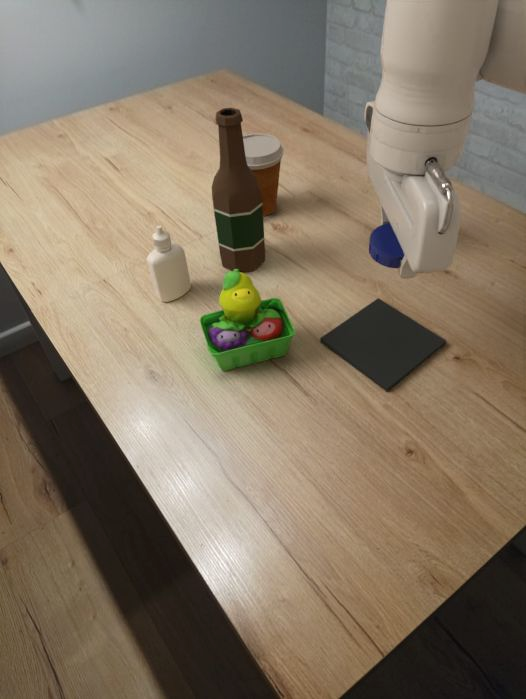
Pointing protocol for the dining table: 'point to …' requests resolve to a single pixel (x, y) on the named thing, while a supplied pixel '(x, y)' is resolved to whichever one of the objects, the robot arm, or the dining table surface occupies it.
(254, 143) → the disposable coffee cup
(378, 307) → the coaster
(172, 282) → the eye dropper bottle
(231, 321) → the fruit basket
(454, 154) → the robot arm
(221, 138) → the beer bottle
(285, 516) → the dining table surface
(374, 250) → the lid
